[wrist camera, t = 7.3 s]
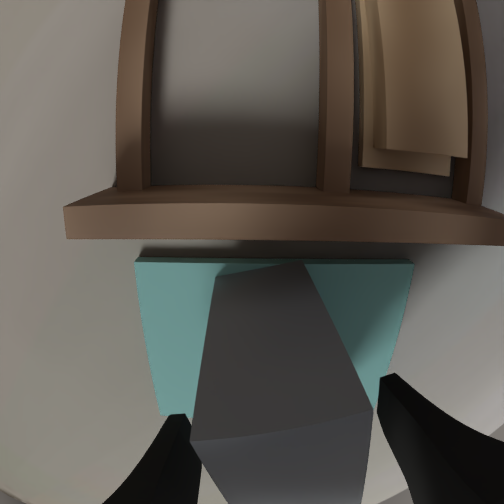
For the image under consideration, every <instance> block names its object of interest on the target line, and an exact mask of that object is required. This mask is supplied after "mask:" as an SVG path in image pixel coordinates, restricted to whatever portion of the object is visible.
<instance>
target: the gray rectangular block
mask: <svg viewBox="0 0 504 504" xmlns="http://www.w3.org/2000/svg"><path fill="white" fill-rule="evenodd" d="M372 420H373V407H372V405H371V403H370V400H369V398H368V396H367V394H366V391H365V389H364V387H363V385H362V383H361V380H360V378H359V376H358V374H357V372H356V370H355V367H354V365H353V363H352V361H351V359H350V357H349V355H348V353H347V350H346V348H345V346H344V344H343V342H342V340H341V338H340V336H339V334H338V332H337V329H336V327H335V325H334V323H333V321H332V319H331V317H330V315H329V313H328V311H327V309H326V307H325V305H324V303H323V301H322V299H321V297H320V295H319V293H318V291H317V289H316V287H315V285H314V283H313V281H312V279H311V277H310V275H309V273H308V271H307V269H306V267H305V265H304V263H303V261H302V260H298V261H293V262H288V263H283V264H278V265H273V266H268V267H263V268H258V269H253V270H248V271H243V272H238V273H232V274H227V275H222V276H217V277H215V282H214V287H213V293H212V299H211V305H210V311H209V317H208V323H207V329H206V335H205V341H204V347H203V353H202V360H201V366H200V373H199V379H198V386H197V392H196V399H195V406H194V413H193V420H192V427H191V435H190V443H191V445H192V447H193V448H194V450H195V452H196V453H197V455H198V457H199V458H200V460H201V462H202V463H203V465H204V467H205V468H206V470H207V472H208V473H209V475H210V476H211V478H212V479H213V481H214V483H215V484H216V486H217V487H218V489H219V490H220V492H221V493H222V495H223V496H224V498H225V499H226V501H227V502H228V504H361V501H362V495H363V490H364V484H365V477H366V471H367V463H368V456H369V448H370V440H371V430H372Z"/></svg>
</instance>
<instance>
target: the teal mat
mask: <svg viewBox="0 0 504 504" xmlns="http://www.w3.org/2000/svg"><path fill="white" fill-rule="evenodd" d="M298 260H302V261H303V263H304V265H305V267H306V269H307V271H308V273H309V275H310V277H311V279H312V281H313V283H314V285H315V287H316V289H317V291H318V293H319V295H320V297H321V299H322V301H323V303H324V305H325V307H326V309H327V311H328V313H329V315H330V317H331V319H332V321H333V323H334V325H335V327H336V329H337V332H338V334H339V336H340V338H341V340H342V342H343V344H344V346H345V348H346V350H347V353H348V355H349V357H350V359H351V361H352V363H353V365H354V367H355V370H356V372H357V374H358V376H359V378H360V380H361V383H362V385H363V387H364V389H365V391H366V394H367V396H368V398H369V400H370V403H371V405H372V407H373V409H374V407H375V405H376V402H377V399H378V394H379V381H380V377H383V376H386V373H387V370H388V367H389V364H390V360H391V357H392V354H393V351H394V347H395V344H396V340H397V337H398V333H399V330H400V326H401V322H402V318H403V314H404V310H405V306H406V302H407V298H408V293H409V289H410V284H411V280H412V275H413V270H414V265H415V264H414V263H413V262H411V261H410V260H409V259H260V258H174V257H138V258H137V259H136V260H135V262H134V266H135V274H136V283H137V291H138V298H139V305H140V312H141V319H142V325H143V331H144V337H145V343H146V348H147V354H148V359H149V364H150V369H151V374H152V379H153V384H154V389H155V393H156V398H157V402H158V406H159V410H160V415H164V416H169V415H170V414H183V413H185V414H186V416H187V417H190V418H193V413H194V406H195V399H196V392H197V386H198V379H199V373H200V366H201V360H202V353H203V347H204V341H205V335H206V329H207V323H208V317H209V311H210V305H211V299H212V293H213V287H214V282H215V277H217V276H222V275H227V274H232V273H238V272H243V271H248V270H253V269H258V268H263V267H268V266H273V265H278V264H283V263H288V262H293V261H298Z"/></svg>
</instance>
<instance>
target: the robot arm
mask: <svg viewBox="0 0 504 504" xmlns="http://www.w3.org/2000/svg"><path fill="white" fill-rule="evenodd" d="M377 414H378V417H379V421H380V424H381V427H382V429H383V432H384V435H385V437H386V439H387V441H388V443H389V446H390V448H391V450H392V452H393V454H394V456H395V458H396V460H397V462H398V464H399V466H400V468H401V470H402V473H403V475H404V477H405V479H406V482H407V484H408V487H409V490H410V493H411V496H412V500H413V503H414V504H504V442H502V441H500V440H497V439H494V438H492V437H489V436H487V435H484V434H482V433H480V432H478V431H476V430H474V429H472V428H470V427H468V426H466V425H464V424H463V423H461V422H459V421H457V420H456V419H454V418H453V417H451V416H450V415H448V414H447V413H445V412H444V411H442V410H441V409H439V408H438V407H437V406H435V405H434V404H433V403H431V402H430V401H429V400H427V399H426V398H425V397H423V396H422V395H421V394H420V393H418V392H417V391H416V390H415V389H414V388H412V387H411V386H410V385H409V384H408V383H407V382H405V381H404V380H403V379H402V378H401V377H400V376H398V375H397V374H396V373H393V374H389V375H386V376H383V377H380V381H379V394H378V406H377ZM191 427H192V426H191V424H190V422H189V420H188V418H187V416H186V414H185V413H183V414H170V415H169V416H168V418H167V419H166V421H165V423H164V424H163V426H162V428H161V429H160V431H159V433H158V434H157V436H156V438H155V439H154V441H153V442H152V444H151V445H150V447H149V448H148V450H147V451H146V453H145V454H144V456H143V457H142V459H141V460H140V462H139V463H138V464H137V466H136V467H135V468H134V470H133V471H132V472H131V474H130V475H129V476H128V477H127V479H126V480H125V481H124V482H123V483H122V484H121V486H120V487H119V488H118V489H117V490H116V491H115V492H114V493H113V494H112V495H111V496H110V497H109V498H108V499H107V500H106V501H105V502H104V503H102V504H197V502H198V494H199V486H200V477H201V469H202V462H201V460H200V458H199V457H198V455H197V453H196V452H195V450H194V448H193V447H192V445H191V443H190V435H191Z"/></svg>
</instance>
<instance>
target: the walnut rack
mask: <svg viewBox="0 0 504 504" xmlns="http://www.w3.org/2000/svg"><path fill="white" fill-rule="evenodd" d="M318 2H319V47H320V80H319V129H318V155H317V176H316V187H301V186H272V185H155V186H151V166H150V120H151V87H152V67H153V52H154V39H155V28H156V18H157V9H158V0H126V1H125V8H124V15H123V23H122V31H121V40H120V51H119V63H118V77H117V97H116V176H117V187H110V188H108V189H105V190H103V191H100V192H98V193H95V194H93V195H90V196H88V197H85V198H83V199H80V200H78V201H76V202H73V203H71V204H69V205H66V206H64V207H63V212H64V221H65V230H66V237H67V239H218V240H297V241H351V242H394V243H431V244H464V245H493V246H504V214H502V213H499V212H497V211H494V210H491V209H489V208H486V207H483V206H481V204H482V196H483V188H484V179H485V167H486V153H487V128H488V104H487V79H486V65H485V55H484V46H483V38H482V31H481V25H480V19H479V13H478V8H477V3H476V0H454V5H455V9H456V14H457V19H458V25H459V31H460V37H461V44H462V51H463V59H464V68H465V79H466V92H467V114H468V153H467V158H462V157H455V170H454V181H453V190H452V199H451V198H442V197H433V196H424V195H415V194H404V193H393V192H382V191H369V190H355V189H350V178H351V162H352V142H353V111H354V54H353V25H352V7H351V0H318Z"/></svg>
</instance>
